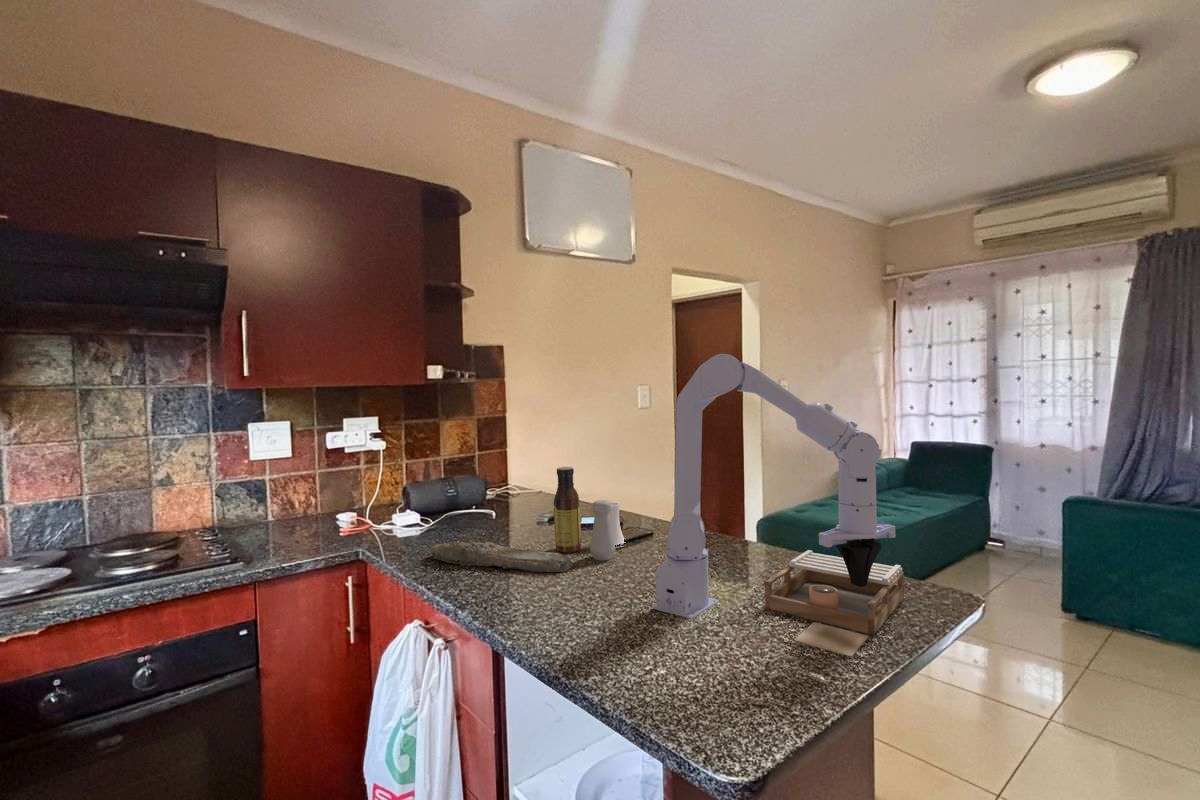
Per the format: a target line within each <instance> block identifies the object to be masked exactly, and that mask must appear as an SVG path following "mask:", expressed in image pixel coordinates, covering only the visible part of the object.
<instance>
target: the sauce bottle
mask: <svg viewBox="0 0 1200 800" xmlns="http://www.w3.org/2000/svg"><path fill="white" fill-rule="evenodd" d="M574 474H575V471H574V467H572V466H562V467H557V468H556V476H557V488H556V492H555V496H554V500H553V520H554V521H553V522H554V523H553V524H554V543H555V549H556V551H557V552H562V553H566V554H567V553H568V554H571V553H573V552H574V553H575V552H578V551H580V550H581V548H582V530H581V529H582V528H581V509H580V508H581V506H580V499H579V498H580V497H579V493H578V492H577V489H576V488H575V487H574V485H575V484H574Z"/></svg>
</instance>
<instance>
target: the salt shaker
mask: <svg viewBox="0 0 1200 800" xmlns="http://www.w3.org/2000/svg"><path fill="white" fill-rule="evenodd" d="M610 503H611V502H610V501H608V500H604V499H599V500H596V501H593V503H592V507H591V508H592V512H594V513H595V514H594V519H593V526H592V532H591V538H590V544H589V550H590V553H591V555H592V558H593V559H594V560H595V561H599V562H603V561H604V562H605V561H609V560H612V559H613V557H614V553H615V551H616V548H615V544H614V539H613V533H612V528H611V523H610V517H609V511H611V504H610Z"/></svg>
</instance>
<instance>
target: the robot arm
mask: <svg viewBox="0 0 1200 800" xmlns="http://www.w3.org/2000/svg"><path fill="white" fill-rule="evenodd" d="M736 388H737V389H736ZM734 389H736V392H743V393H748V394H749V393H752V394H755V395H757V396H759V397H760V398H761V399H763V400H764V401H767V402H768V403H770V404H772V405H773V406H774V407H776V408H777V409H779V410H781V411H782V412H784V413H786V414H787V415H789V416H790V417H792V418H793V419H794V420H795V423H796V428H797V431H798V432H800V433H801V434H803V435H805V436H806V437H807V438H809V439H811V440H813V441H814V442H815V443H816V444H818V445H820V446H821V447H823V448H824V449H825V450H827V451H829V452H832V453H833V455H834V456H835V457H836V459H837V460H838V474H837V481H838V483H837V485H838V486H837V487H838V488H837V489H838V495H837V496H838V497H837V498H838V502H837V505H838V524H836V525H835V527H834V528H831V529H829V530H826V531H823V532H822V531H821V532H818V545H819V546H823V547H826V548H831V547H833V546H835V547H836V549H837V550H838V551H839V553H840V555H841V558H843V559H844V561H845V564H846V567H847V570H848V573H849V577H850V580H851V584H854V585H856V586H859V587H863V586H866V585H867V581H868V577H869V574H870V570H871V567H872V564H873V563H875V560H876V558H877V556H879V554H880V552H881V550H882V544H881V543H880V542H877V541H875V540H876V539H884V538H890V539H894V538H896V525H892V524H888V523H880V524H878V522H877V516H878V515H877V513H878V512H877V511H878V510H877V476H876V464H877V462H878V461H879V460H880V458H881V457H882V456H881V455H882V448H880V445H879V443H878V441H877V440H876V438H875V437H874V436H873V435H871V434H870V433H868V432H865V431H860V429H857V427H858V426H859V425H858V423H856V422H854V421H852V420H851V421H847V420H846V419H845V418H843V417H842V416H840V415H838V414H837V413H836V412H834V411H832V410H833V409H834V406H832V405H830V404H828V403H824V404H822V403H821V402H818V401H817V402H811V403H806V402H804V401H803V400H802V399H800V398H799V397H798V396H796V395H795V394H794V393H792V391H789V390H788V389H786V388H785V387H784V386H783V385H781V384H779V383H778V382H777V381H775V380H774V379H773V378H771V377H770V376H769V375H767V374H766V373H764V372H763V371H761V370H760V369H757V368H755V366H754V367H753V366H752V365H750V364H749V363H746V362H743V361H741V362H740V360H738V359H737V358H736V357H735V356H732V355H731V354H726V353H719V354H716V355H713V356H712V357H710V358H709V359H708V360H706V361H705V362H703V363H702V364H700V366H698V368H697V369H696V370H695V372H694V373H693V375H691V377H690V379H689V380H688V381H687V383H686V384H685V386H684V387H683V389H682V390H681V391H680V392H679V394H678V396H677V399H676V417H675V418H676V422H675V424H676V425H675V427H676V428H675V429H676V430H675V466H674V467H675V468H674V470H675V471H674V475H675V476H674V504H673V505H674V506H673V515H672V518H671V519H670V523H669V530H668V534H667V545H668V548H667V547H666V550H665V551H666V554H665V559H664V561H663V562H662V563H661V564H659V566H658V567H657V568H656V571H655V599H656V600H655V601H656V602H655V603H654V604H652V607H651V608H652V609H653V610H656V611H660V612H662V613H663V612H664V613H666V614H671V615H675V616H676V615H677V616H679V617H683V618H687V619H693V618H695V617H696V616H699V615H701V614H702V613H703V612H705V611H707V610H708V609H710V608H711V607H713V606H715V605H717V604H718V603H719V602H720V601H719V599H716V598H713V597H710V591H709V590H710V588H709V580H710V579H709V551H708V550H707V549H706V548H705V547H706V534H705V523H704V521H703V518H702V516H701V490H702V487H701V484H702V444H703V442H702V441H703V439H702V438H703V411H704V409H705V408H706V407H708V406H709V405H710V404H711V403H712V402H714V401H715V400H716V398H717V397H719V396H720V397H721V396H722V395H724V394H726V393H729V392H731V391H733V390H734Z"/></svg>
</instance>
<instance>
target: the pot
mask: <svg viewBox="0 0 1200 800" xmlns="http://www.w3.org/2000/svg"><path fill="white" fill-rule="evenodd" d="M809 603H810V604H814V605H819V606H823V607H827V608H832V609H836V610H838V590H837V589H836V588H834V587H831V586H827V585H812V586H810V587H809Z"/></svg>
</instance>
